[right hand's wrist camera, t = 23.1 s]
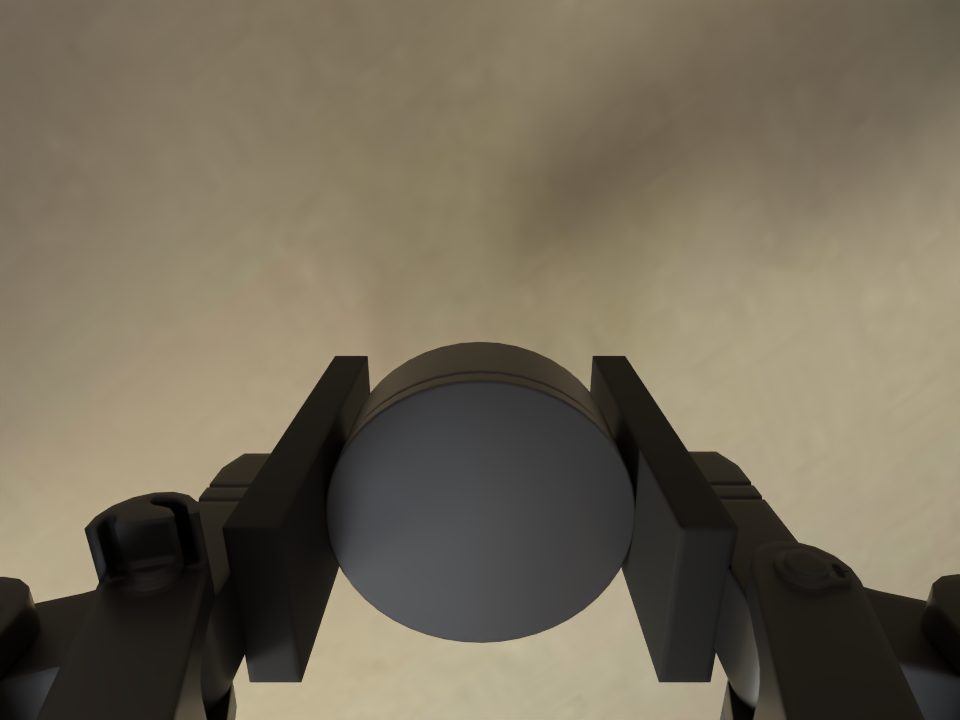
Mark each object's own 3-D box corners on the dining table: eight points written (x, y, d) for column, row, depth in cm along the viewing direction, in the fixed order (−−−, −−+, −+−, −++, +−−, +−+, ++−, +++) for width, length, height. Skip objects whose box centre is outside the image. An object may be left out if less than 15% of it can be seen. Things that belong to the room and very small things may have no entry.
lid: (355, 324, 11) (329, 361, 9) (637, 357, 11) (668, 400, 9) (342, 559, 13) (320, 629, 11) (585, 582, 13) (602, 656, 11)
